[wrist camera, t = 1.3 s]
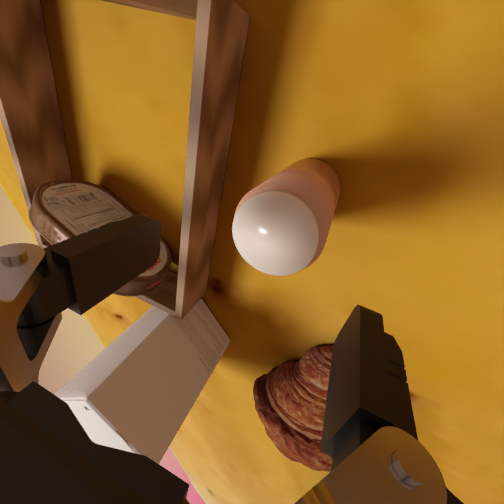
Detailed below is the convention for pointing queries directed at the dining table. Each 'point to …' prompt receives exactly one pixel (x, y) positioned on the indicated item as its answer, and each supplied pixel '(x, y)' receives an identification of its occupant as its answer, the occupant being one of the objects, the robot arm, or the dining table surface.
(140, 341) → the supplement box
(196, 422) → the dining table surface
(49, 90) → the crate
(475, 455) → the dining table surface
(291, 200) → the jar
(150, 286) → the tin
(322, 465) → the pastry
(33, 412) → the robot arm
